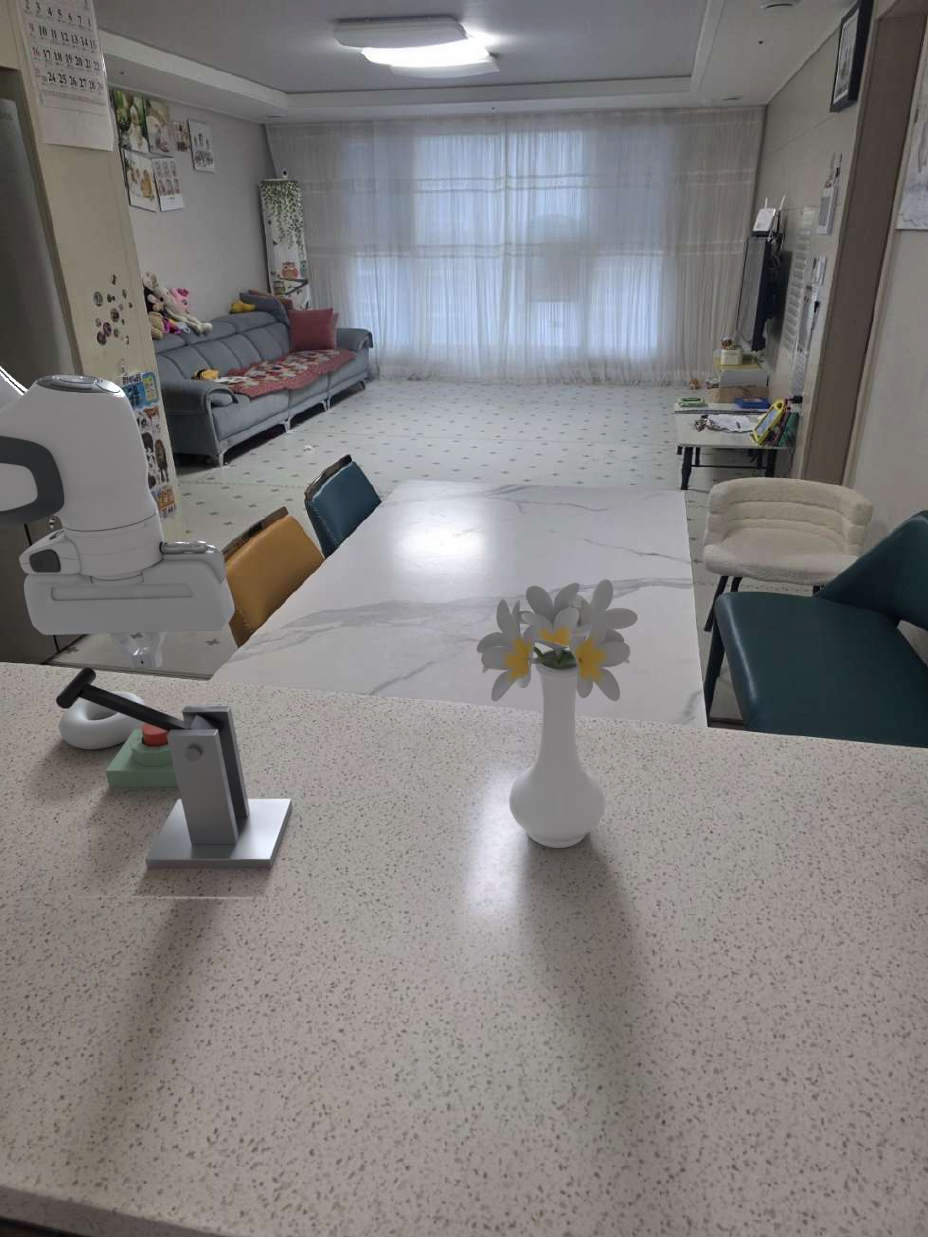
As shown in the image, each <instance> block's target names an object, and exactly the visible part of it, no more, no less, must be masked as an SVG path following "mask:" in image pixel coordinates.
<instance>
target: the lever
mask: <svg viewBox="0 0 928 1237" xmlns="http://www.w3.org/2000/svg"><path fill="white" fill-rule="evenodd" d="M96 678H97V673H96V670H94V669H92V668H91V667H84V668H82V669H81V670H80V671H79V672H78V673H77V674H76V676H75V677H74V678H73V679H72V680H71V681H70V682H69V683H68V684H67V685H66V686H65V687H64V689H63V690H62V691H61V692H60V693H59V694H58V695H57V696H56V698H55V703H56V705H57V706H59V707H60V708H61V709H63V710H67V709H68V708H70V707H71V706H72V705H73V704H75V703H76V702H78V700H79V698H80V699H85V700H88V701H90V702H93V703H95V704H98V705H101V706H103V707H106V708H108V709H111V710H114V711H116V712H119V713H121V714H124V715H127V716H129V717H132V718H134V719H137V720H140V721H142V722H145V723H147V724H150V725H153V726H155V727H158V728H160V729H163V730H166V731H168V732H170V730H218V733H219V738H220V736H221V733H222V731H223V728H224V726H223V725H220V724H218V723H215V722H212V721H210V720H207V719H205V718H202V717H200V716H197V715H196V716H195V717H194V719H193V721H192V722H191V723H188V722H185V721H184V719H181V718H178V717H176V716H173V715H170V714H168V713H165V712H162V711H160V710H157V709H155V708H152V707H150V706H147V705H146V706H144V705H142V704H139V703H137V702H134V701H131V700H129V699H126V698H124V697H121V696H119V695H116V694H113V693H111V692H110V691H108V690H106V689H103V688H100V687H99V686H95V685H93V682H94V681H95V680H96Z"/></svg>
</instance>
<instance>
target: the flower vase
mask: <svg viewBox="0 0 928 1237" xmlns="http://www.w3.org/2000/svg"><path fill="white" fill-rule="evenodd" d="M580 587H581V585H580V583H579V582H572V583H570V584H567V585H566V586H564V587H563V588H561V590H559V592H558V593H557V594H556V596H555V597H554V599H553V600H554V601H553V600H552V598H551V596H550V594H549V593H548V591H547V590H545V589H544V588H543V587H541V586H538V585H530V586H529V587H527V589H526V591H525V599H526V602H527V604H528V605H529V607H530V608H531V610H532V611H530V610H521V600H520V599H517V600H516V601H515V603H514V605H513V607H512V611H511V610H510V608H509V605H508V603H507V601H506V600H505V599H504V598H502V599H500V601H499V602H498V604H497V608H496V615H495V618H496V624H497V627H498V629H499V630H500V631H501V632H500V631H492V632H490V633H488V634H486V635H485V636H483V637H482V639H480V640H479V642H478V644H477V646H476V652H477V653H478V654H481V659H480V661H481V664H482V665H483V668H482V671H481V673H482V674H486V672H488V671H489V670H493V671H494V670H495V671H504V672H501V673H500V674H499V675H498V676H497V678H496V679H495V681H494V683H493V686H492V689H491V696H490V697H491V698H490V699H491V701H492V702H494V703H495V702H498V701H500V699H502V698H503V696H505V695H506V693H507V691H508V690H510V688H511V687H512V686H513V685H514V684H515V683H516V684H517V686H518V687H520V688H521V689H525V688H527V687H528V686H529V685H530V683H531V680H532V665H534V666H535V669H536V671H537V673H538V674H539V679H540V686H541V692H542V693H541V694H542V719H541V721H542V723H541V734H540V735H541V736H540V746H539V750H538V753H537V756H536V758H535V760H534V762H533V764H531V765H530V766H529V767H527V768H526V769H524V770H523V771H522V772H521V773H520V774H519V775H518V777H517V778H516V779H515V781H513V784H512V787H511V789H510V794H509V796H508V803H509V804H508V805H509V810H510V813H511V815H512V816H513V819H514V820H515V822H516V823H517V824H518V825H519V827H521V828H522V829H523V830H524V831H525V832H526V834H527V835H528V837H529V838H531V840H533V842H535V843H537V844H539V845H541V846H544V847H546V848H552V849H565V848H569V847H573V846H575V845H578V844H579V843H580V842H581V841H583V840H584V838H585V837H586V835H588V834H589V833H590V832H591V831H593V830H594V829H595V828H596V827H597V826H598V825H599V824H600V822H601V820H602V819H603V817H604V815H605V809H606V798H605V794H604V791H603V788H602V785H601V784H600V783H599V781H598V780H597V779H596V777H595V776H594V775H593V773H592V772H590V771H589V770H588V769H587V768H585V767H584V766H583V765H582V763H581V760H580V758H579V755H578V750H577V741H576V739H577V738H576V701H577V700H576V699H577V694H578V696H579V697H580V698H581V699H586V698H588V697H589V695H590V694H591V693H592V690H593V687H594V684H595V685H596V686H597V687H598V688H599V690H600V691H601V692H602V693H603V695H604V696H605V697H606V698H608V700H610V701H613V702H617V701H618V700H620V697H621V691H620V690H621V689H620V686H619V683H618V681H617V679H616V677H615V676H614V674H613V673H612V672H611V671H610V670H608V669H606V668H613V667H618V666H619V665H621V664H623V663H626V664H631V663H630V660H629V657H630V655H631V648H630V646H629V644H627V643H626V642H625V637H623V635H622V634H621V633H620V632H619V631H617V630H622V629H627V628H630V627H631V626H633V625H635V624H636V623H637V621H638V620H639V619H638V614H637V612H635V611H634V610H632V609H629V608H625V607H612V608H609V607H610V606H611V604H612V600H613V597H614V588H613V583H612V581H610V579H606V578H605V579H602V580H600V581H599V582H598V583H597V585H596V586H595V587H594V589H593V592H592V594H591V597H590V599H589V602H588V600H587V599H586V598H585V597H583V595H581V594H578V592H579V590H580ZM521 625H528V627H527V628H525V630H524V631H523V632H521ZM536 643H537V644H540V645H543V646H546V647H548V648H550V649H549V650H545V651H543V652H542V650H541V649H540V648H538V647H537V646H536ZM534 653H535V654H536V655H537V657H534Z"/></svg>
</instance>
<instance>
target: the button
mask: <svg viewBox="0 0 928 1237" xmlns="http://www.w3.org/2000/svg"><path fill="white" fill-rule="evenodd" d="M168 733H169V732H168V731H166V730H163V729H160V728H158V727H155V726H153V725H150V724H147V723H145V724H144V725H143V726H142V734H143V738H144V742H145V744H146V745H147V746H149V747H159V746H163V745H166V744H168V739H167V735H168Z"/></svg>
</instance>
